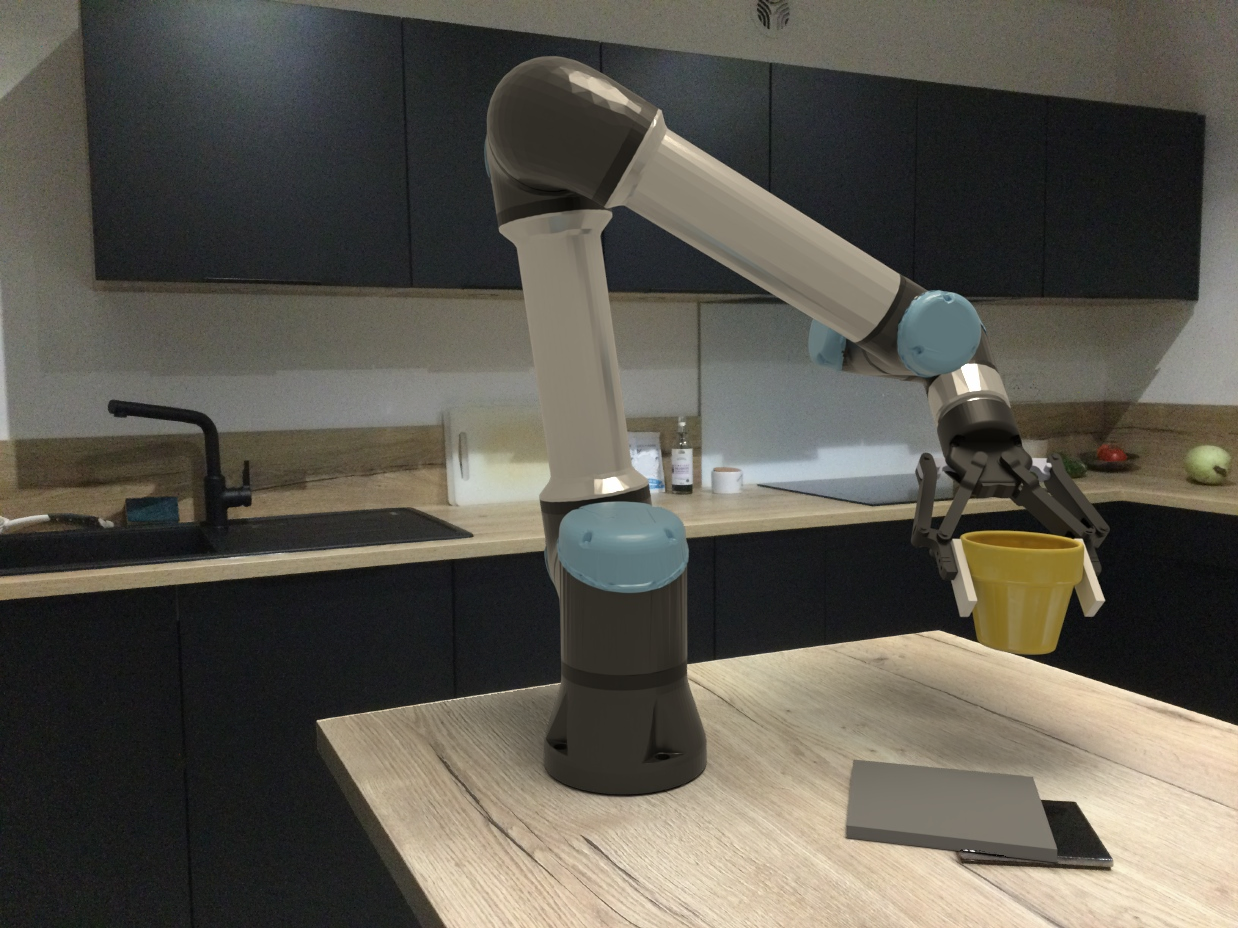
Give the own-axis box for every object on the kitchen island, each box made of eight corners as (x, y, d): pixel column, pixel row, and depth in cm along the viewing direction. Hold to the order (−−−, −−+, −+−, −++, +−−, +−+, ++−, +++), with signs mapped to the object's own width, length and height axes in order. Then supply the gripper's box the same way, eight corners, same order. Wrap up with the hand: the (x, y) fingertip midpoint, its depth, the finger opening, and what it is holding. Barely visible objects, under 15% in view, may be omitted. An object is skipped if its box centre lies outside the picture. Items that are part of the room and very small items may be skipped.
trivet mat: (846, 837, 74) (846, 825, 74) (853, 769, 87) (853, 759, 87) (1057, 862, 70) (1057, 849, 70) (1032, 787, 83) (1032, 776, 83)
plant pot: (1017, 624, 94) (1021, 526, 93) (1105, 653, 85) (1111, 544, 84) (932, 635, 91) (935, 533, 90) (1014, 667, 81) (1019, 553, 80)
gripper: (1072, 443, 101) (1144, 629, 87) (854, 444, 101) (892, 630, 87) (1099, 394, 95) (1181, 585, 81) (868, 395, 95) (911, 586, 82)
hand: (1031, 608), depth 84 cm, fingers closed on plant pot, 10 cm apart
